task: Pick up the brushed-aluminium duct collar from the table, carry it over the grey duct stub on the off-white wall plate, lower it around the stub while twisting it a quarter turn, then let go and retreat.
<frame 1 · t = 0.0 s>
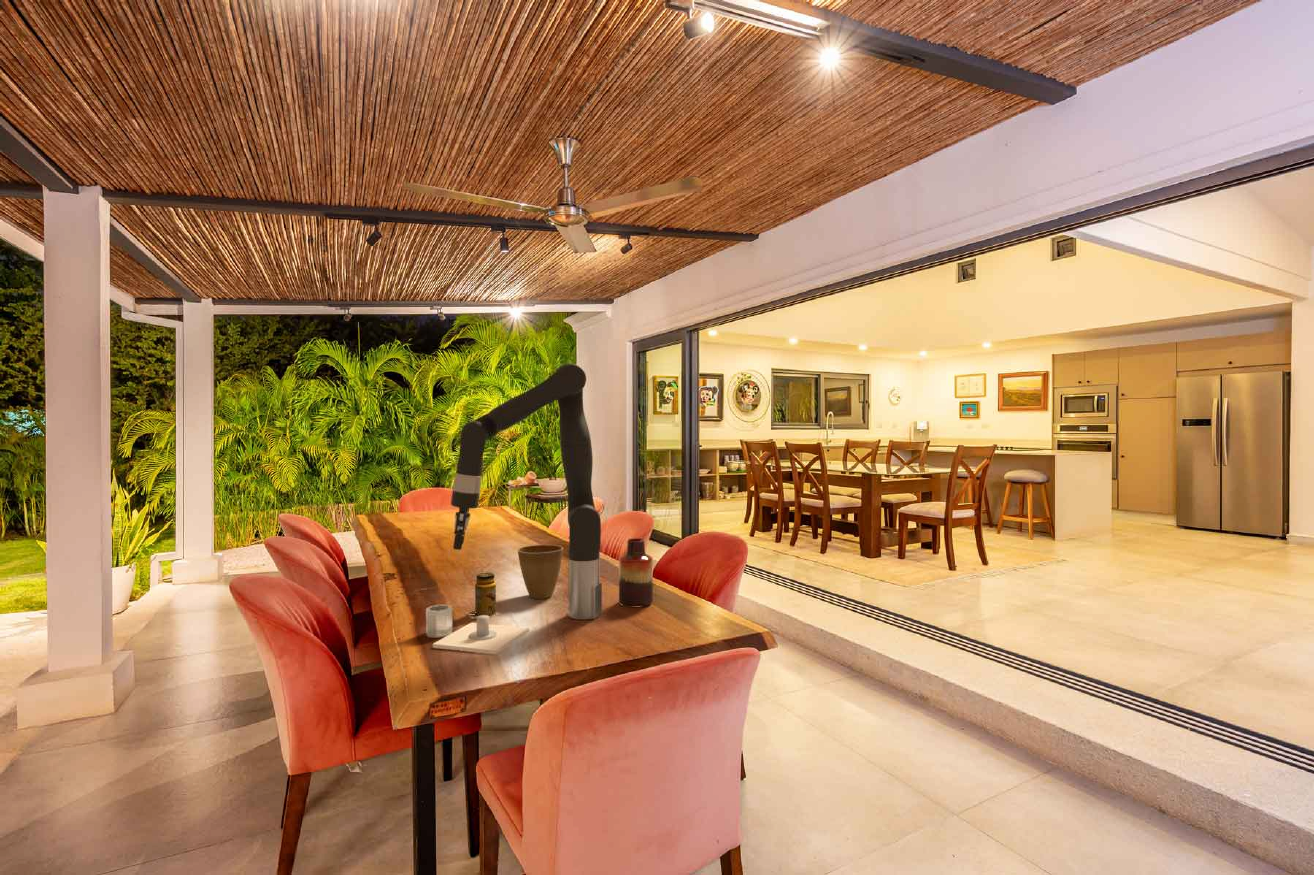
hand: (458, 546, 180), 22 cm above the table, tool pointing down, fingers open, 8 cm apart
collar: (439, 633, 172), on the table
duct flange: (482, 639, 168), on the table
vase: (635, 603, 202), on the table
condiment: (482, 614, 190), on the table
plant pot: (540, 596, 210), on the table
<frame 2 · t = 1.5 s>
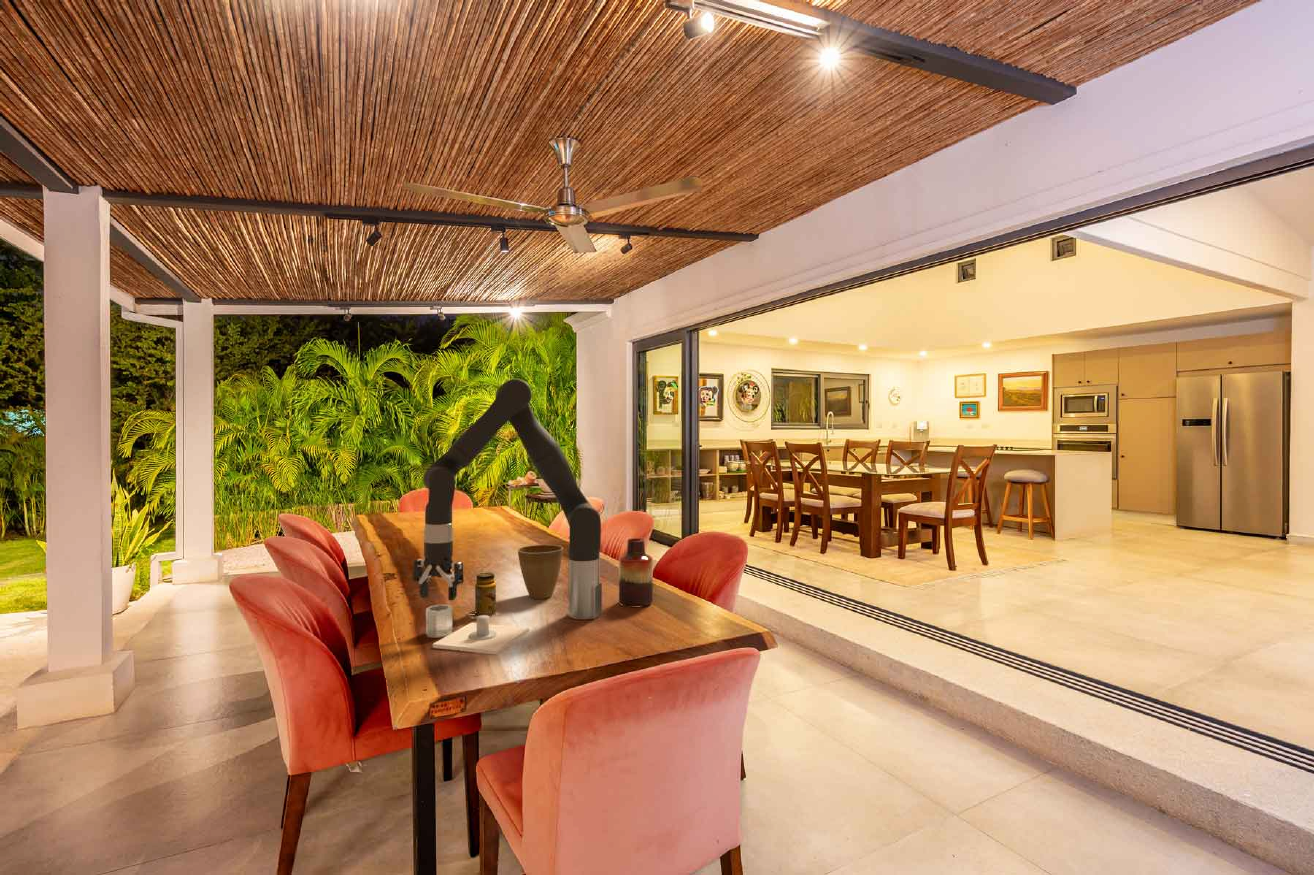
hand: (438, 598, 172), 10 cm above the table, tool pointing down, fingers open, 8 cm apart
nothing on the table moved.
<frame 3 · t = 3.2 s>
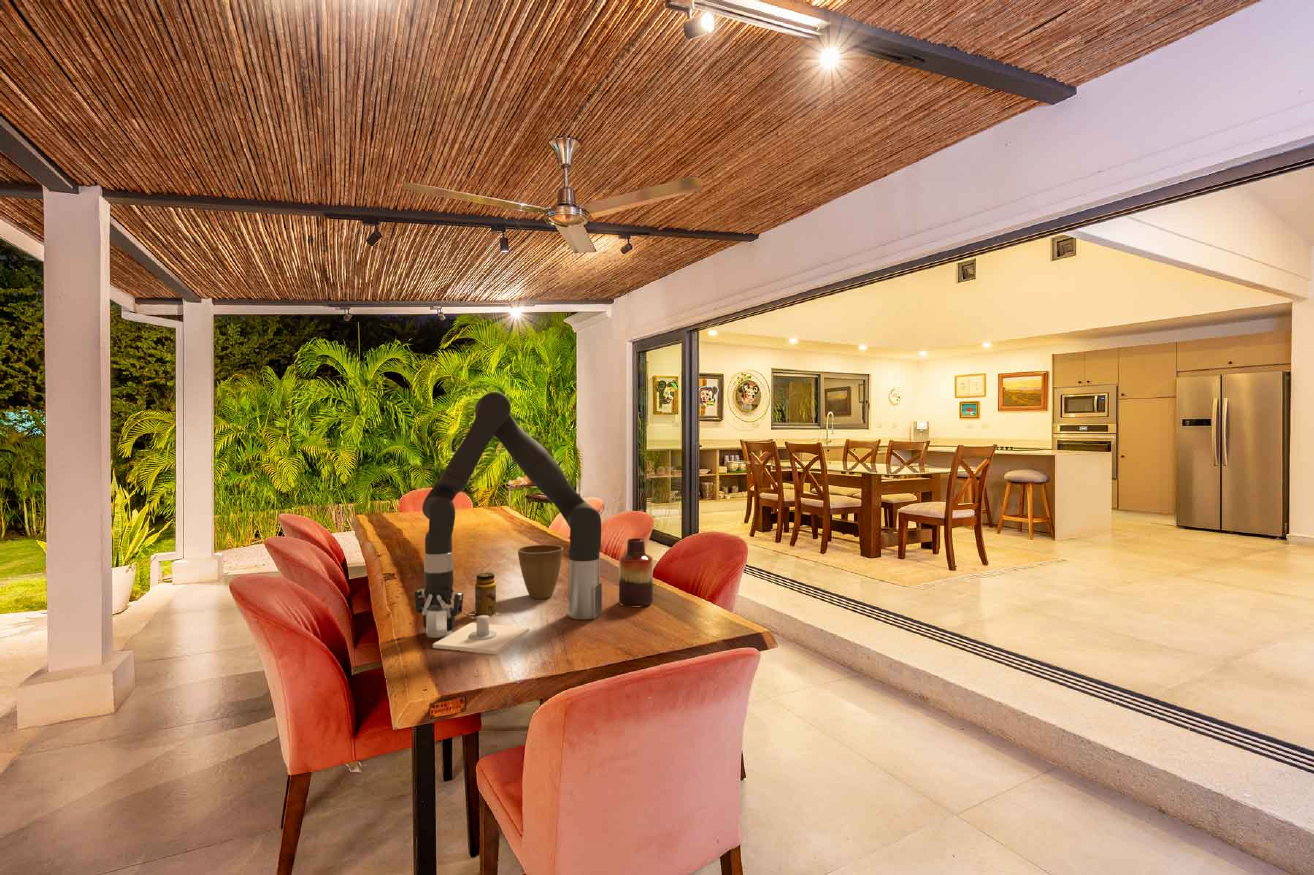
hand: (439, 629, 172), 1 cm above the table, tool pointing down, fingers closed on collar, 6 cm apart
collar: (439, 633, 172), on the table, touching gripper
everything else where it was.
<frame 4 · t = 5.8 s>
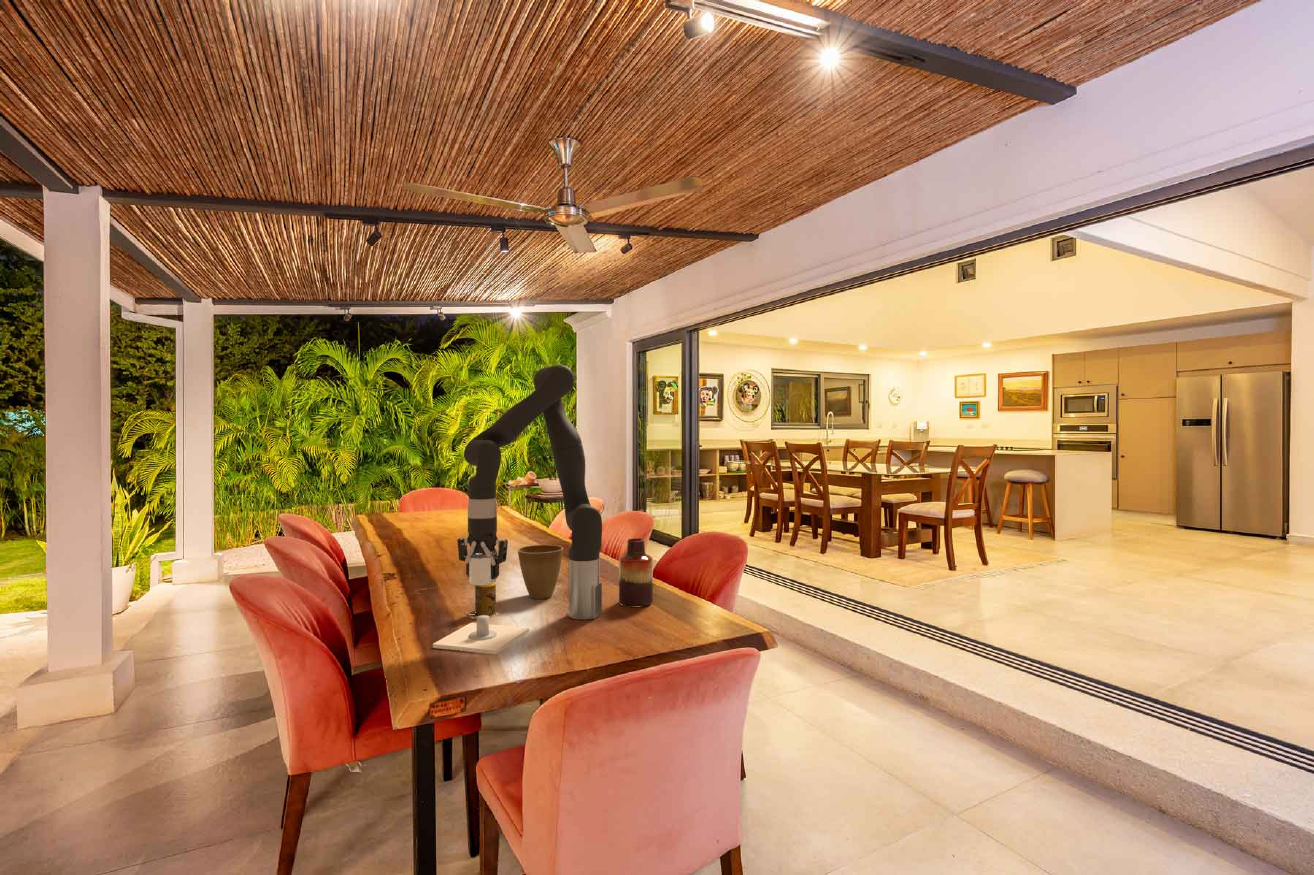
hand: (482, 577, 167), 17 cm above the table, tool pointing down, fingers closed on collar, 6 cm apart
collar: (482, 582, 167), point 15 cm above the table, touching gripper
everything else where it was.
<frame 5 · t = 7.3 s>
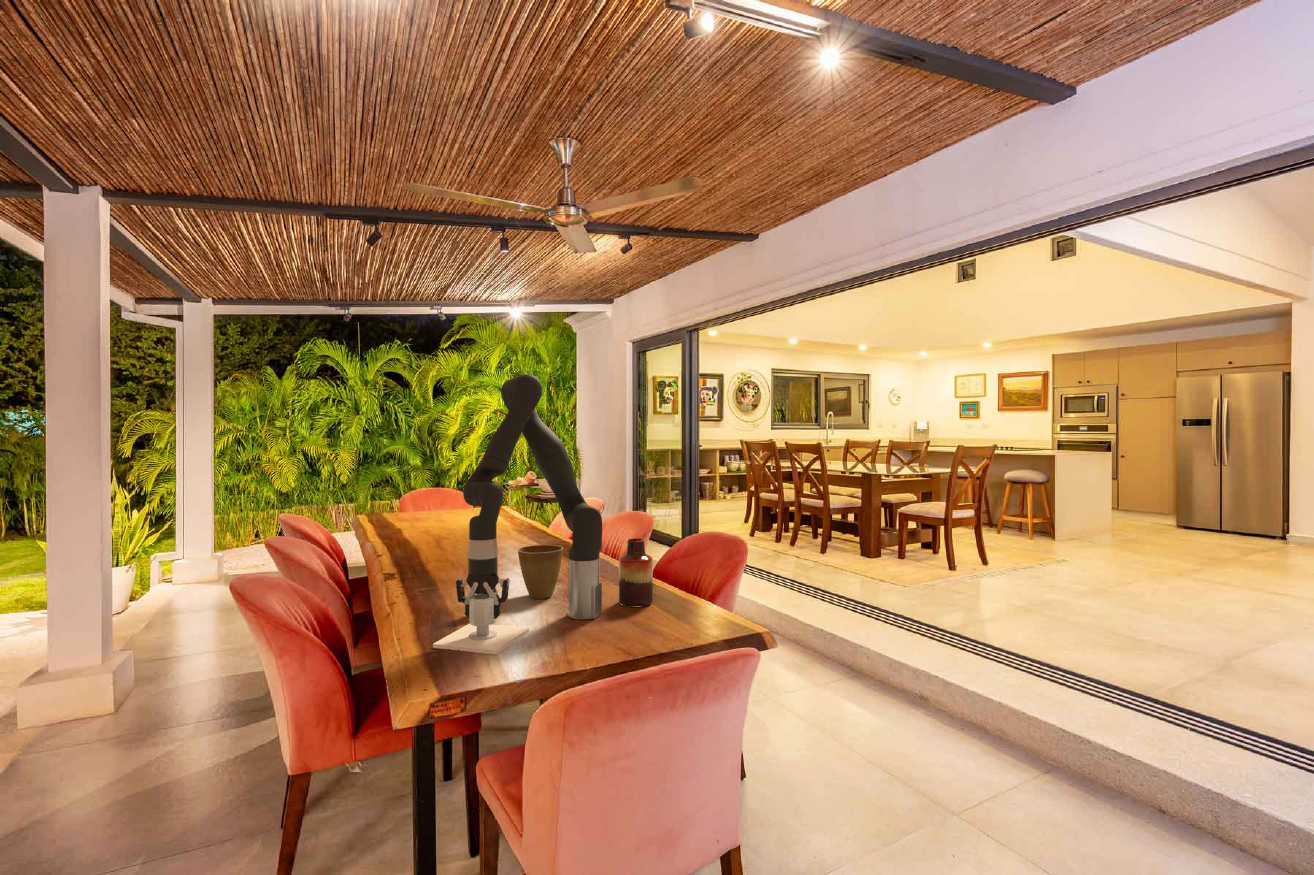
hand: (482, 617, 167), 6 cm above the table, tool pointing down, fingers closed on collar, 6 cm apart
collar: (482, 622, 167), point 5 cm above the table, touching gripper
everything else where it was.
when the fingers open (3 cm above the table, at t = 8.6 s): collar stays where it is, resting on duct flange.
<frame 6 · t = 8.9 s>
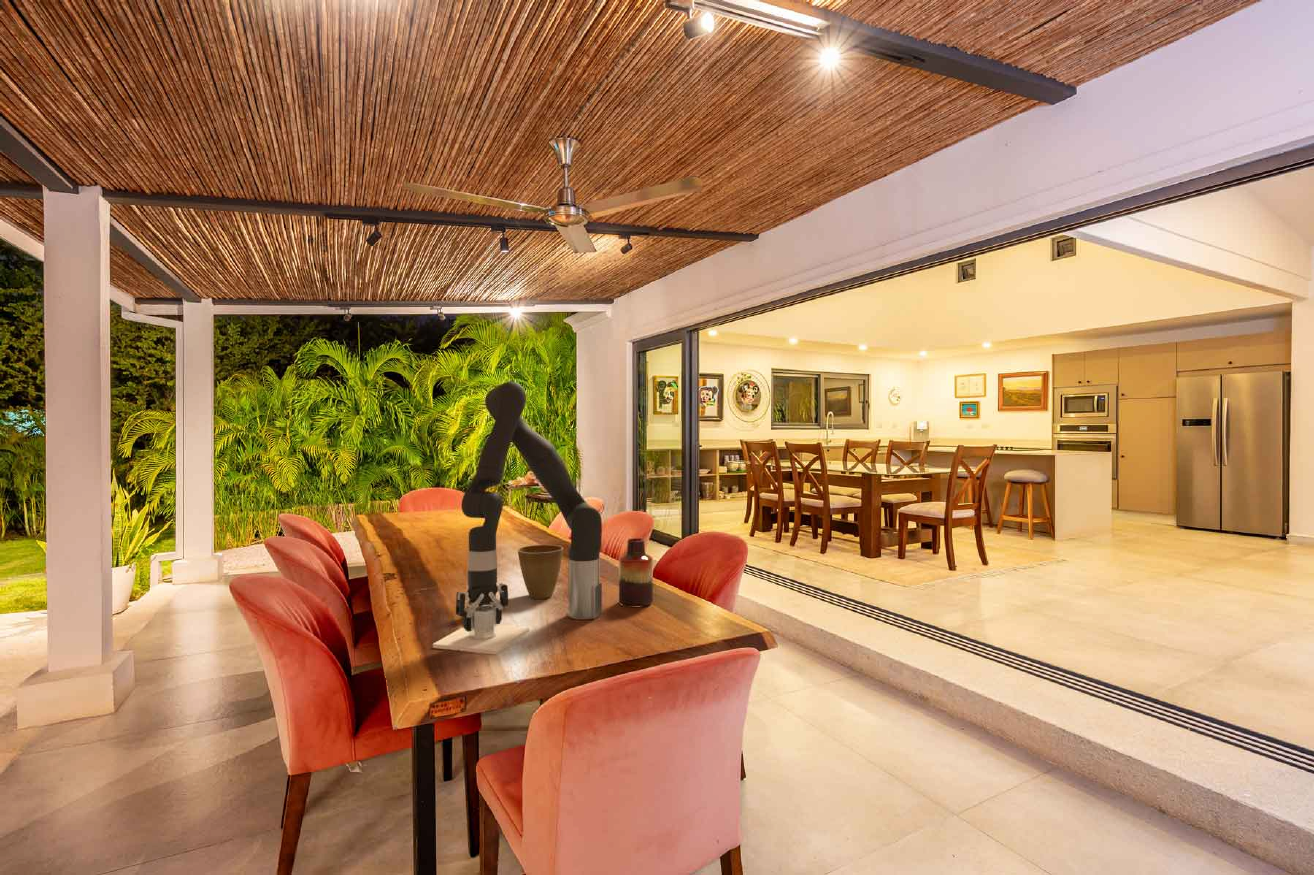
hand: (482, 627, 168), 3 cm above the table, tool pointing down, fingers open, 8 cm apart
collar: (483, 634, 168), point 1 cm above the table, touching duct flange
everything else where it was.
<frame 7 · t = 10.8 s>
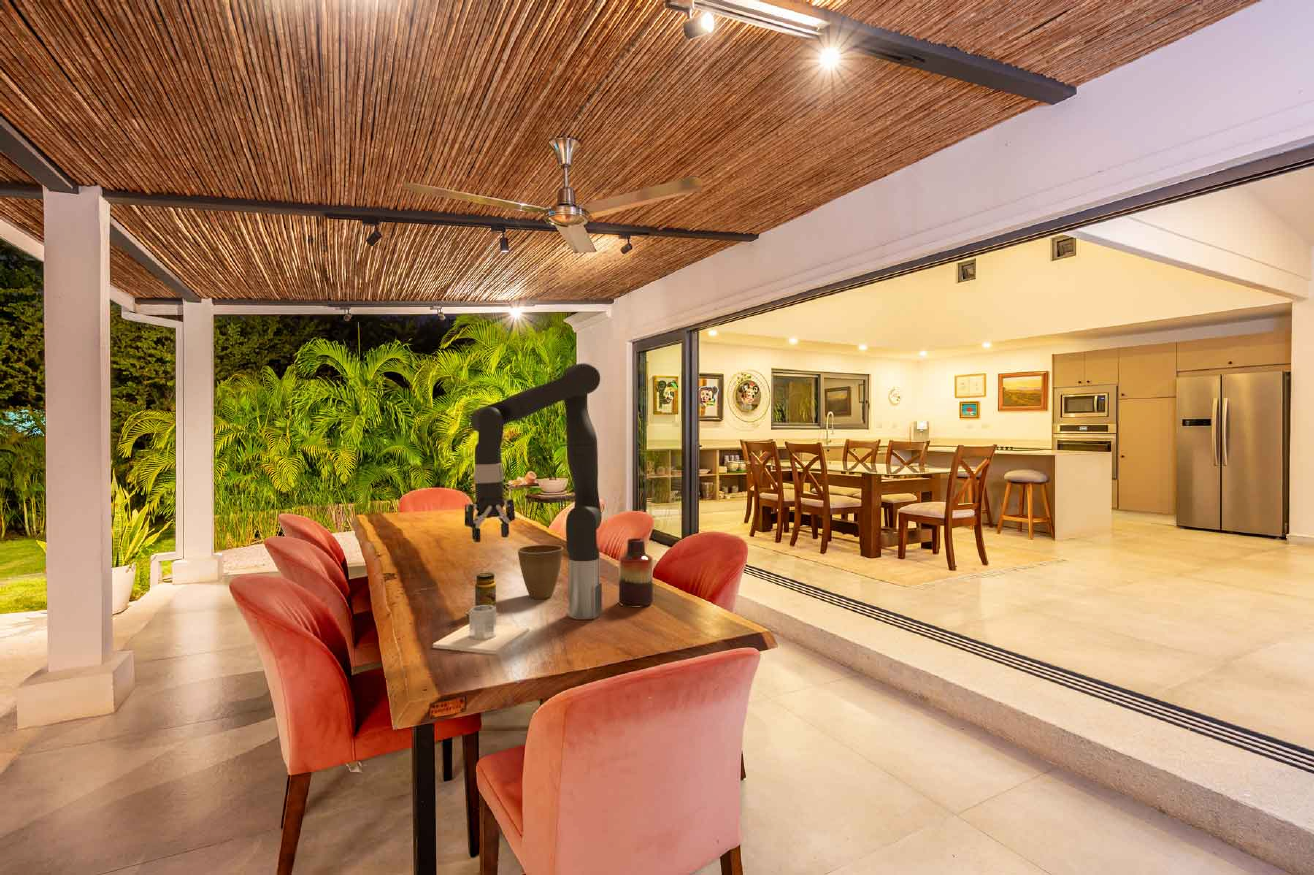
hand: (491, 539, 172), 26 cm above the table, tool pointing down, fingers open, 8 cm apart
nothing on the table moved.
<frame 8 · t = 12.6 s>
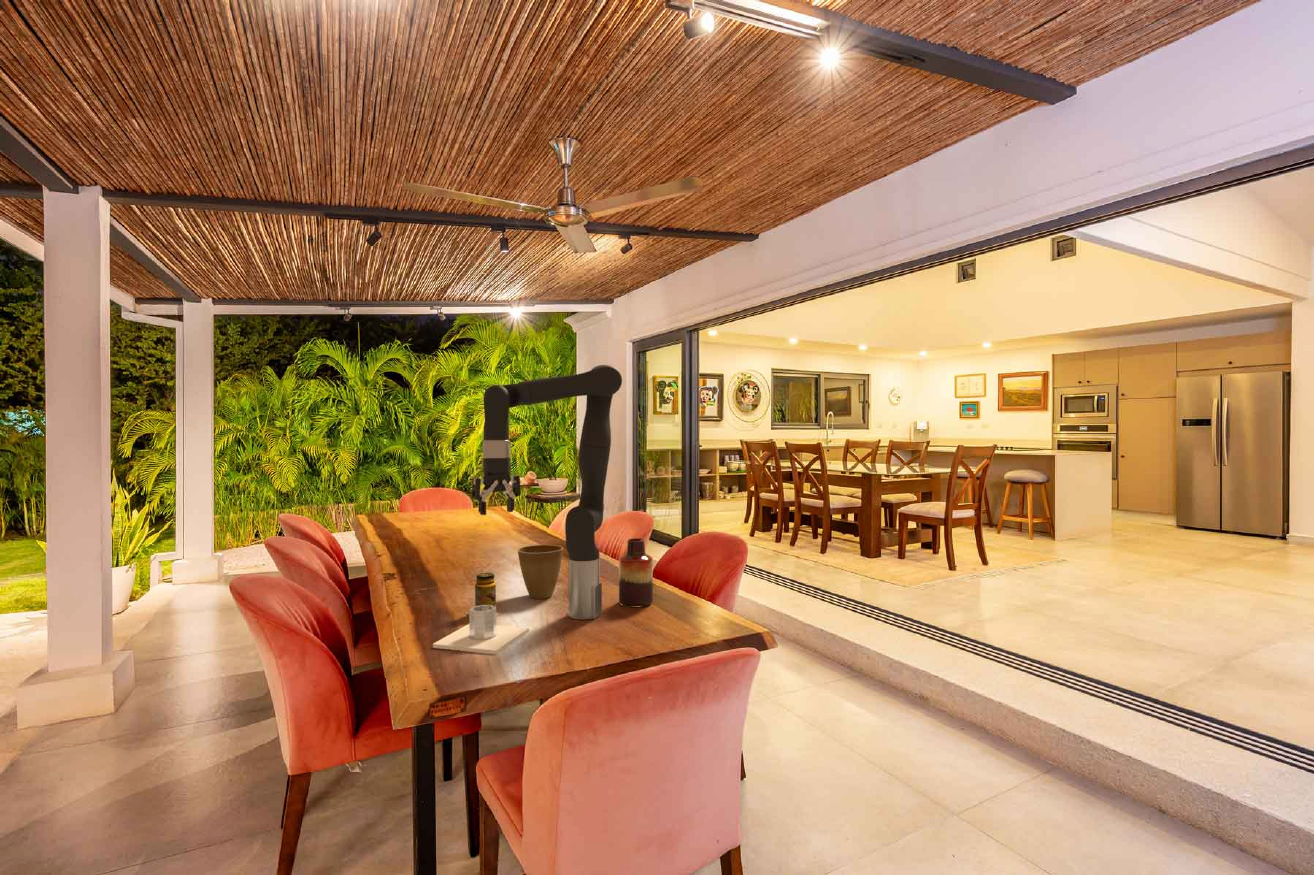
hand: (496, 513, 178), 32 cm above the table, tool pointing down, fingers open, 8 cm apart
nothing on the table moved.
at the end: collar 0.1 cm from the duct flange (horizontally); collar point 1.3 cm above the table; collar tilted 0° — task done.
